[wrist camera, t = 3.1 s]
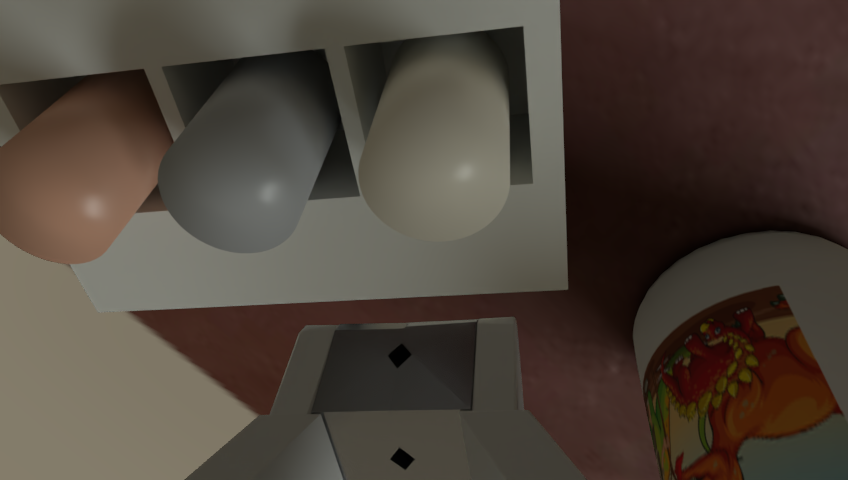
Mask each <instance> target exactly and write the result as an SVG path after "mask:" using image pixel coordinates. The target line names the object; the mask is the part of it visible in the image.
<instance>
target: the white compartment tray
mask: <svg viewBox="0 0 848 480" xmlns="http://www.w3.org/2000/svg"><path fill="white" fill-rule="evenodd" d="M476 31H483V32H485V33H486V34H488V35H489V36H490V37H491V38H492V39H493V40H494V41H495V42H496V44H497V45H498V46H499V48H500V49H501V51H502V52H503V54H504V57H505V59H506V62H507V65H508V71H509V123H510V188H509V193H508V197H507V200H506V202H505V204H504V206H503V208H502V210H501V211H500V213H499V214H498V215H497V216H496V218H495V219H494V220H493V221H492V222H491V223H489V224H488V225H487V226H486V227H484V228H483V229H481V230H480V231H478V232H476V233H474V234H472V235H470V236H467V237H464V238H461V239H457V240H452V241H442V242H434V241H424V240H419V239H415V238H412V237H408V236H406V235H403V234H401V233H399V232H397V231H395V230H393V229H392V228H390V227H389V226H387V225H386V224H385V223H383V222H382V221H381V220H380V219H379V218H378V217H377V216H376V215H375V214H374V213H373V212H372V210H371V209H370V208H369V206H368V205H367V203H366V201H365V199H364V197H363V195H362V192H361V189H360V185H359V178H358V169H359V162H360V158H361V155H362V152H363V149H364V146H365V143H366V140H367V137H368V134H369V131H370V128H371V125H372V122H373V119H374V116H375V113H376V110H377V107H378V104H379V101H380V98H381V95H382V92H383V89H384V86H385V83H386V80H387V77H388V74H389V71H390V68H391V65H392V62H393V59H394V56H395V54H396V52H397V50H398V49H399V47H400V45H401V44H402V43H403V42H404V40H405V39H413V38H422V37H431V36H440V35H449V34H458V33H467V32H476ZM306 50H313V51H315V52H316V53H318V54H319V55H320V56H321V57H323V58H324V59H325V60H326V61H327V62H328V65H329V69H330V73H331V77H332V81H333V85H334V89H335V94H336V98H337V102H338V106H339V110H340V114H341V118H342V119H341V121H340V124H339V126H338V129H337V131H336V133H335V136H334V138H333V141H332V143H331V145H330V148H329V150H328V153H327V155H326V157H325V160H324V162H323V165H322V167H321V169H320V172H319V174H318V177H317V179H316V181H315V184H314V186H313V189H312V191H311V193H310V196H309V198H308V201H307V203H306V205H305V208H304V210H303V213H302V215H301V217H300V220H299V222H298V224H297V227H296V229H295V230H294V232H293V233H292V235H291V236H290V237H289V238H288V239H287V240H286V241H284V242H283V243H282V244H280V245H278V246H277V247H275V248H272V249H270V250H267V251H263V252H258V253H234V252H229V251H224V250H221V249H217V248H215V247H212V246H210V245H207V244H205V243H204V242H202V241H200V240H198V239H197V238H195V237H193V236H192V235H191V234H189V233H188V232H187V231H185V230H184V229H183V228H182V227H181V226H180V225H179V224H178V223H177V222H176V221H175V219H174V218H173V217H172V216H171V214H170V213H169V211H168V210H167V208H166V206H165V204H164V203H163V200H162V198H161V195H160V191H159V187H158V184H157V185H156V186H155V188H154V189H153V190H152V192H151V193H150V194H149V196H148V197H147V198H146V199H145V201H144V202H143V203H142V205H141V206H140V207H139V209H138V210H137V211H136V213H135V214H134V215H133V217H132V218H131V219H130V221H129V222H128V223H127V224H126V226H125V227H124V228H123V230H122V231H121V232H120V234H119V235H118V236H117V238H116V239H115V240H114V242H113V243H112V244H111V246H110V247H109V248H108V249H107V251H106V252H105V253H104V254H103V255H102V256H100V257H98V258H97V259H95V260H92V261H90V262H86V263H81V264H70V266H71V268H72V269H73V271H74V273H75V274H76V276H77V278H78V279H79V281H80V283H81V285H82V286H83V288H84V290H85V291H86V293H87V295H88V297H89V298H90V300H91V302H92V303H93V305H94V307H95V309H96V310H97V312H118V311H138V310H159V309H180V308H200V307H221V306H242V305H262V304H283V303H304V302H324V301H345V300H366V299H386V298H407V297H428V296H448V295H469V294H490V293H510V292H531V291H552V290H568V267H567V234H566V200H565V166H564V133H563V99H562V66H561V32H560V0H0V146H1V147H2V146H3V145H4V144H5V143H7V142H8V141H9V140H10V139H11V138H13V137H14V136H15V135H16V134H17V133H19V132H20V131H21V130H22V129H23V128H25V127H26V126H27V125H28V124H29V123H30V122H32V121H33V120H34V119H35V118H36V117H38V116H39V115H40V114H41V113H42V112H44V111H45V110H46V109H47V108H48V107H50V106H51V105H52V104H53V103H54V102H56V101H57V100H58V99H59V98H60V97H62V96H63V95H64V94H65V93H66V92H68V91H69V90H70V89H71V88H72V87H74V86H75V85H76V84H77V83H78V82H80V81H81V80H82V79H83V78H84V77H86V76H87V75H91V74H100V73H109V72H118V71H127V70H136V69H144V70H145V73H146V75H147V78H148V80H149V82H150V85H151V87H152V90H153V92H154V95H155V97H156V99H157V102H158V104H159V107H160V109H161V112H162V114H163V116H164V119H165V121H166V124H167V126H168V129H169V131H170V133H171V136H172V138H173V141H174V142H175V140H176V139H177V138H178V137H179V135H180V134H181V133H182V132H183V130H184V129H185V128H186V127H187V125H188V124H189V123H190V122H191V120H192V119H193V118H194V117H195V115H196V114H197V113H198V112H199V110H200V109H201V108H202V107H203V105H204V104H205V103H206V102H207V100H208V99H209V98H210V96H211V95H212V94H213V93H214V91H215V90H216V89H217V88H218V86H219V85H220V84H221V83H222V81H223V80H224V79H225V78H226V76H227V75H228V74H229V73H230V71H231V70H232V69H233V68H234V66H235V65H236V64H237V63H238V61H239V60H240V59H241V58H243V57H252V56H261V55H270V54H279V53H288V52H297V51H306Z"/></svg>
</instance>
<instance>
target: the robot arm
mask: <svg viewBox="0 0 848 480" xmlns="http://www.w3.org/2000/svg"><path fill="white" fill-rule="evenodd" d="M185 480H587V479H586V478H585V477H584V476H583V475H582V473H581V472H580V471H579V470H578V469H577V467H576V466H575V465H574V464H573V463H572V461H571V460H570V459H569V458H568V457H567V455H566V454H565V453H564V452H563V451H562V449H561V448H560V447H559V446H558V445H557V443H556V442H555V441H554V440H553V439H552V437H551V436H550V435H549V434H548V433H547V431H546V430H545V429H544V428H543V427H542V425H541V424H540V423H539V422H538V421H537V419H536V418H535V417H534V416H533V415H532V413H531V412H530V411H529V410H524V405H523V391H522V378H521V366H520V355H519V343H518V331H517V323H516V319H515V318H514V317H502V318H485V319H479V320H478V319H476V320H456V321H436V322H416V323H382V324H340V325H307V326H305V327H304V328H303V329H302V330H301V331H300V333H299V335H298V337H297V340H296V343H295V346H294V349H293V351H292V354H291V357H290V360H289V362H288V365H287V368H286V371H285V374H284V376H283V379H282V382H281V385H280V387H279V390H278V393H277V396H276V399H275V401H274V404H273V407H272V410H271V412H270V415H259V416H258V417H257V418H256V419H254V420H253V421H252V422H251V423H250V424H249V425H248V426H246V427H245V428H244V429H243V430H242V431H241V432H239V433H238V434H237V435H236V436H235V437H234V438H232V439H231V440H230V441H229V442H228V443H227V444H226V445H224V446H223V447H222V448H221V449H220V450H219V451H217V452H216V453H215V454H214V455H213V456H211V457H210V458H209V459H208V460H207V461H206V462H204V463H203V464H202V465H201V466H200V467H199V468H198V469H196V470H195V471H194V472H193V473H192V474H191V475H189V476H188V477H187V478H186V479H185Z"/></svg>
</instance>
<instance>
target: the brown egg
mask: <svg viewBox="0 0 848 480" xmlns="http://www.w3.org/2000/svg"><path fill="white" fill-rule="evenodd" d="M173 143H174V141H173V138H172V136H171V133H170V131H169V129H168V126H167V124H166V121H165V119H164V116H163V114H162V112H161V109H160V107H159V104H158V102H157V99H156V97H155V95H154V92H153V90H152V87H151V85H150V82H149V80H148V78H147V75H146V73H145V70H144V69H136V70H127V71H118V72H109V73H100V74H91V75H87V76H86V77H84V78H83V79H82V80H81V81H80V82H78V83H77V84H76V85H75V86H74V87H72V88H71V89H70V90H69V91H68V92H66V93H65V94H64V95H63V96H62V97H60V98H59V99H58V100H57V101H56V102H54V103H53V104H52V105H51V106H50V107H48V108H47V109H46V110H45V111H44V112H42V113H41V114H40V115H39V116H38V117H36V118H35V119H34V120H33V121H32V122H30V123H29V124H28V125H27V126H26V127H25V128H23V129H22V130H21V131H20V132H19V133H17V134H16V135H15V136H14V137H13V138H11V139H10V140H9V141H8V142H7V143H5V144H4V145H3V146H2V147H1V148H0V234H1V235H2V236H3V237H5V238H6V239H7V240H8V241H10V242H11V243H12V244H14V245H15V246H17V247H18V248H20V249H22V250H23V251H26V252H27V253H29V254H31V255H33V256H36V257H38V258H41V259H44V260H47V261H51V262H56V263H61V264H81V263H86V262H90V261H92V260H95V259H97V258H98V257H100V256H102V255H103V254H104V253H105V252H106V251H107V249H108V248H109V247H110V246H111V244H112V243H113V242H114V240H115V239H116V238H117V236H118V235H119V234H120V232H121V231H122V230H123V228H124V227H125V226H126V224H127V223H128V222H129V221H130V219H131V218H132V217H133V215H134V214H135V213H136V211H137V210H138V209H139V207H140V206H141V205H142V203H143V202H144V201H145V199H146V198H147V197H148V196H149V194H150V193H151V192H152V190H153V189H154V188H155V186H156V185H157V184H158V170H159V166H160V163H161V161H162V158H163V156H164V155H165V153H166V152H167V151H168V149H169V148H170V147H171V145H172V144H173Z"/></svg>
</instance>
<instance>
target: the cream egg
mask: <svg viewBox="0 0 848 480" xmlns="http://www.w3.org/2000/svg"><path fill="white" fill-rule="evenodd" d="M358 178H359V185H360V189H361V192H362V195H363V197H364V199H365V201H366V203H367V205H368V206H369V208H370V209H371V210H372V212H373V213H374V214H375V215H376V216H377V217H378V218H379V219H380V220H381V221H382V222H383V223H385V224H386V225H387V226H389V227H390V228H392V229H393V230H395V231H397V232H399V233H401V234H403V235H406V236H408V237H412V238H415V239H419V240H424V241H434V242H442V241H452V240H457V239H461V238H464V237H467V236H470V235H472V234H474V233H476V232H478V231H480V230H481V229H483V228H484V227H486V226H487V225H488V224H489V223H491V222H492V221H493V220H494V219H495V218H496V216H497V215H498V214H499V213H500V211H501V210H502V208H503V206H504V204H505V202H506V200H507V197H508V193H509V188H510V123H509V71H508V65H507V62H506V59H505V57H504V54H503V52H502V51H501V49H500V48H499V46H498V45H497V44H496V42H495V41H494V40H493V39H492V38H491V37H490V36H489V35H488V34H486V33H485V32H483V31H476V32H467V33H458V34H449V35H440V36H431V37H422V38H413V39H405V40H404V42H403V43H402V44H401V45H400V47H399V49H398V50H397V52H396V54H395V56H394V59H393V62H392V65H391V68H390V71H389V74H388V77H387V80H386V83H385V86H384V89H383V92H382V95H381V98H380V101H379V104H378V107H377V110H376V113H375V116H374V119H373V122H372V125H371V128H370V131H369V134H368V137H367V140H366V143H365V146H364V149H363V152H362V155H361V158H360V162H359V169H358Z"/></svg>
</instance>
